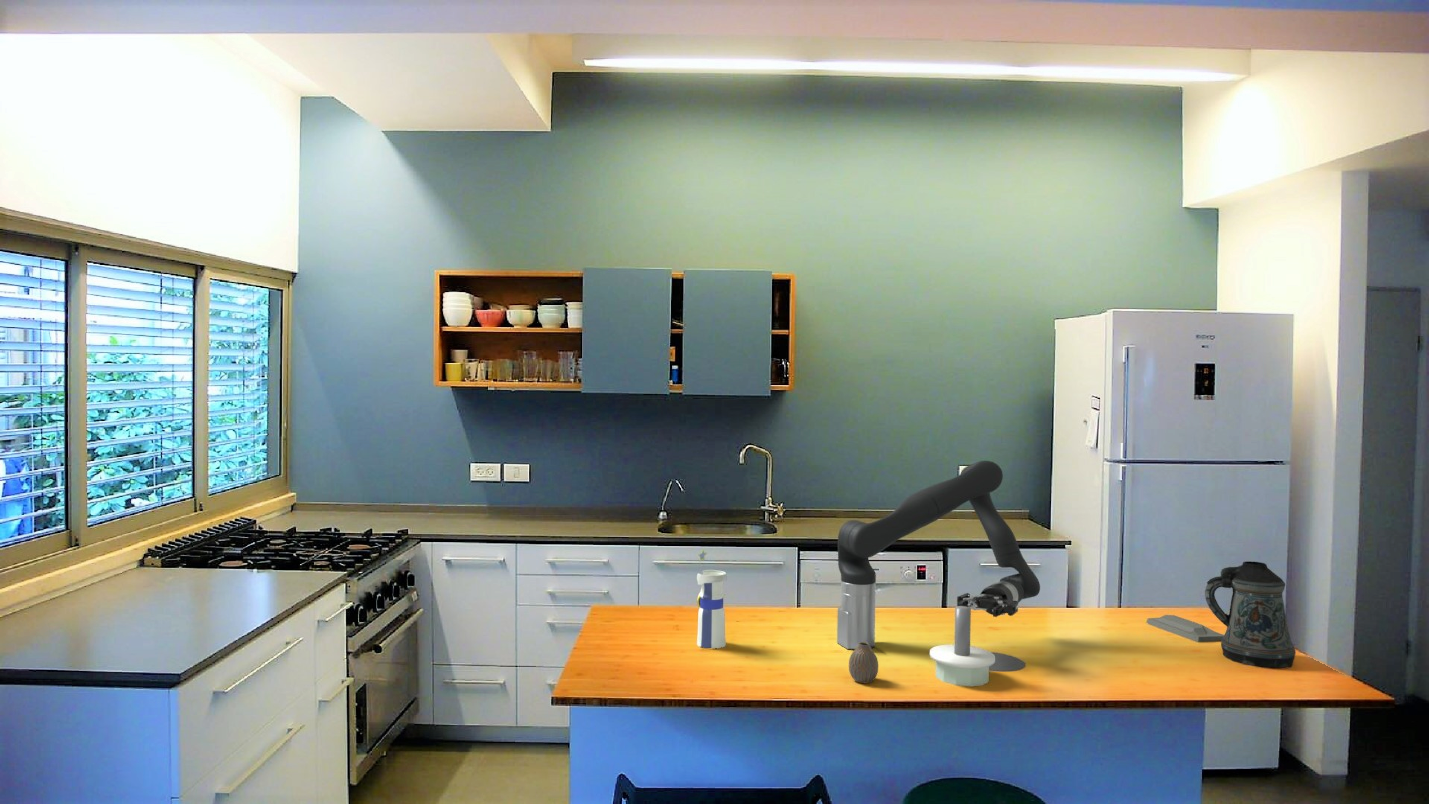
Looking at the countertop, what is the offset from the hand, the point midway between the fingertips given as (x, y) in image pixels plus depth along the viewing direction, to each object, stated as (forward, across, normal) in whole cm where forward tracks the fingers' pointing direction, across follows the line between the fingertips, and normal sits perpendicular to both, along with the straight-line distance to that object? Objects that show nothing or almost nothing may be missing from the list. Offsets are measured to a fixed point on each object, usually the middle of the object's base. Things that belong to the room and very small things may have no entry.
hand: (977, 609), depth 214 cm
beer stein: (-54, +54, +15) cm, 77 cm away
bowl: (+10, 0, +15) cm, 18 cm away
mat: (-7, +2, +15) cm, 16 cm away
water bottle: (+26, -63, +15) cm, 70 cm away
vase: (+26, -18, +15) cm, 35 cm away
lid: (+10, 0, +10) cm, 14 cm away
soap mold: (-72, +36, +16) cm, 82 cm away
